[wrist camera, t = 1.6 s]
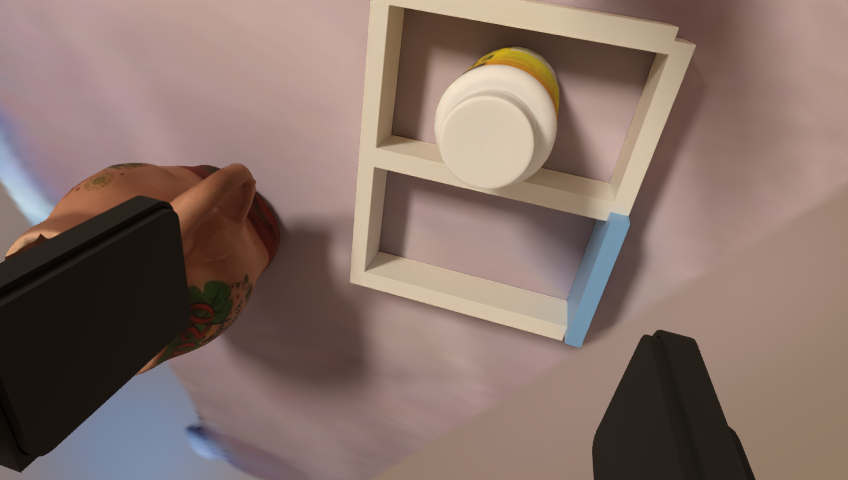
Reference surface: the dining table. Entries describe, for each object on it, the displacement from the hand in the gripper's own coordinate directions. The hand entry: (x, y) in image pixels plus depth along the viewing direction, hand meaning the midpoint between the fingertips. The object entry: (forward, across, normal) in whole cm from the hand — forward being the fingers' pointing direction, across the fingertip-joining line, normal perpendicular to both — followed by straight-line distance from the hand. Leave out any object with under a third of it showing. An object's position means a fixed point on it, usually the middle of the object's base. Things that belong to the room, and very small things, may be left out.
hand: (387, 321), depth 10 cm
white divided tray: (+22, 0, +4) cm, 23 cm away
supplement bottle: (+22, 0, 0) cm, 22 cm away
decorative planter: (+23, +19, +12) cm, 32 cm away
